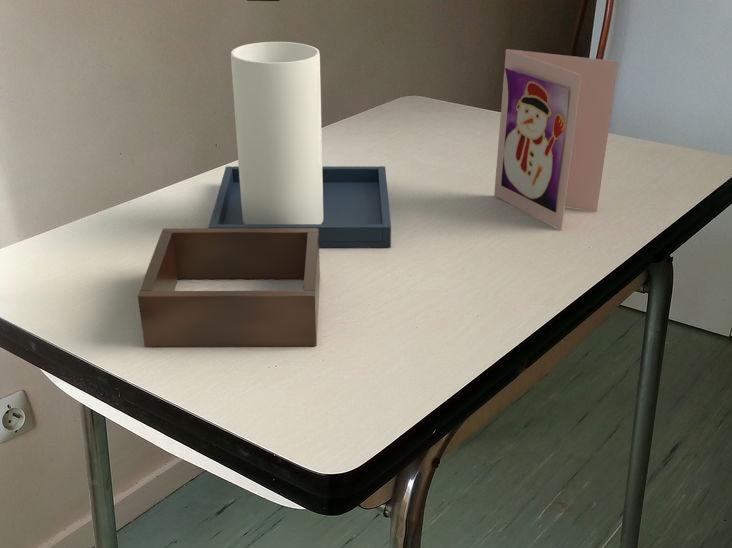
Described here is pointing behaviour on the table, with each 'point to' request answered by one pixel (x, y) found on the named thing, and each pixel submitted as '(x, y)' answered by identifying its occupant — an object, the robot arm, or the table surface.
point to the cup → (278, 132)
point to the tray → (326, 207)
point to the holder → (231, 308)
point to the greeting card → (553, 132)
